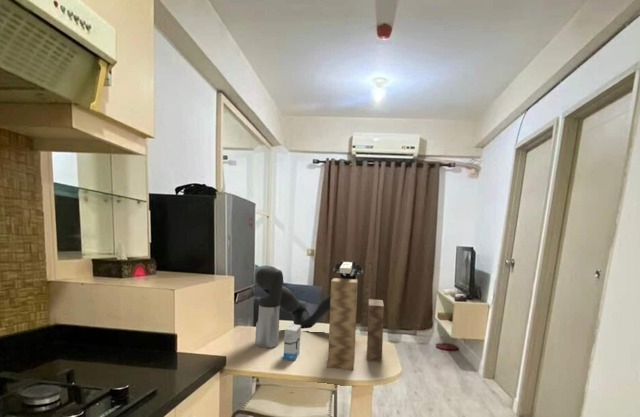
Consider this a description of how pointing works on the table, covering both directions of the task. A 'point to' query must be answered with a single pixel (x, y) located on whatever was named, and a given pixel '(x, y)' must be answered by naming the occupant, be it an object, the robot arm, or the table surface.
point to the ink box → (292, 342)
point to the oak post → (342, 323)
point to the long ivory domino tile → (346, 267)
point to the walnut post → (375, 330)
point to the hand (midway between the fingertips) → (347, 262)
